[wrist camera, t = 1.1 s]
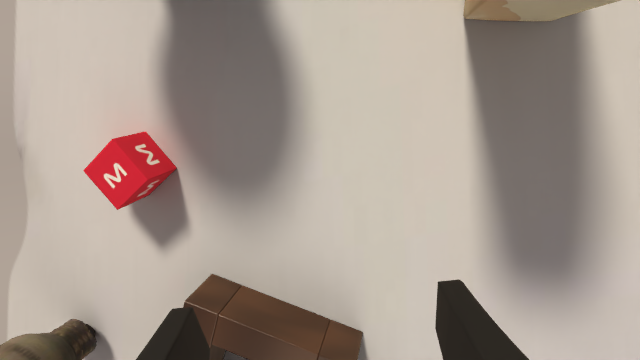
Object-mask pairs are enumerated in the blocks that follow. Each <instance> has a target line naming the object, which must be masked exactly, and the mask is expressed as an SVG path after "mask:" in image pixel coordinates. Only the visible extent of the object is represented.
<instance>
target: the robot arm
mask: <svg viewBox="0 0 640 360" xmlns="http://www.w3.org/2000/svg"><path fill="white" fill-rule="evenodd" d="M436 332H437V336H438V340H439V344H440V348H441V352H442V356H443V360H529V359H528V358H527V357H526V356H525V355H524V354H523V353H522V352H521V351H520V350H519V348H518V347H517V346H516V345H515V344H514V343H513V342H512V341H511V340H510V339H509V337H508V336H507V335H506V334H505V333H504V332H503V331H502V330H501V329H500V328H499V326H498V325H497V324H496V323H495V322H494V321H493V319H492V318H491V317H490V316H489V315H488V313H487V312H486V311H485V310H484V309H483V307H482V306H481V305H480V304H479V302H478V301H477V300H476V299H475V297H474V296H473V295H472V294H471V292H470V291H469V290H468V288H467V287H466V286H465V284H464V283H463V282H462V281H461V280H451V281H441V282H438V292H437V310H436ZM210 351H211V350H210V347H209V345H208V343H207V340H206V338H205V335H204V333H203V331H202V328H201V326H200V324H199V321H198V319H197V316H196V314H195V312H194V309H193V307H187V308H177V309H172V310H171V311H170V312H169V314H168V315H167V317H166V318H165V319H164V321H163V322H162V324H161V325H160V327H159V328H158V329H157V331H156V332H155V334H154V335H153V337H152V338H151V339H150V341H149V342H148V344H147V345H146V346H145V348H144V349H143V351H142V352H141V353H140V355H139V356H138V358H137V359H136V360H210Z"/></svg>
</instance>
